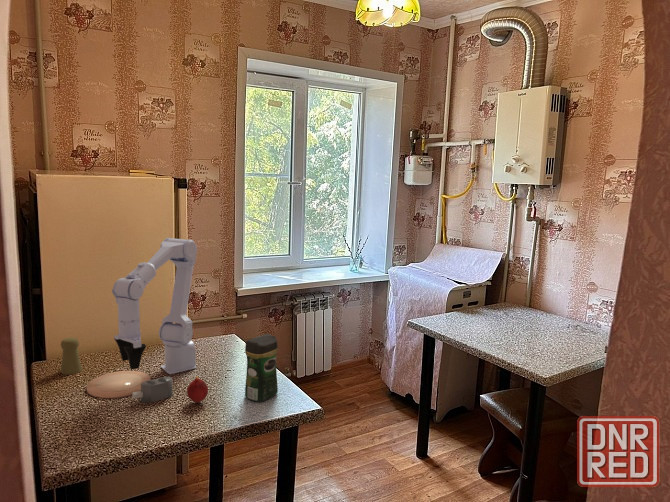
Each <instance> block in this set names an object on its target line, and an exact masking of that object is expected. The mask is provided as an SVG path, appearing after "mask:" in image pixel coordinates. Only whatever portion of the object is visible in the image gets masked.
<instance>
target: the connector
mask: <svg viewBox="0 0 670 502" xmlns="http://www.w3.org/2000/svg"><path fill="white" fill-rule="evenodd" d="M173 389H174V388H173V378H172V377H171V376H163V377H159V378H155V379H151V380H149V381H145V382H143V383H141V391H138V392H134V393H132V395H131V397H132V398H133V399H134V400H136V399H140V403H143V404H150V403H155V402H158V401H162V400H165V399H169V398H171V397H173V395H174V393H173Z"/></svg>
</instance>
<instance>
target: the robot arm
mask: <svg viewBox="0 0 670 502" xmlns="http://www.w3.org/2000/svg"><path fill="white" fill-rule="evenodd" d="M159 245H160V248H159V249H158V250H157V251H156V253H154V255H152V256H151V258H150V259H149V260H148V261H147V262H145V261H143V262H139V263H138V264H137V266H136V267H135V268H134V269H133V270H132V271H130V272H129V273H128V274H127V275H126V276H125V277H120V278H119V279H117V280H116V281H114V283H113V286H112V287H113V288H112V289H111V292H112V293H111V294H112V295H113V297H114V298H115V303H116V305H117V318H118V319H117V323H118V334H116V335H114V338H113V339H114V341H115V343H116V344H117V347H118V349H119V353H120V357H121V360H122V361H123V362H125V361H128V364H129V368H130V369H131V370H135V369H139V368H140V363H141V360H142V356H143V353H144V352H145V349H146V347H147V346H146V345H147V344H145V343H142V339H141V337H142V332H141V319H140V299H141V297H143V294H144V291H145V289H146V286H147V285H148V284H149V283H151V281H153V279H154V278H155V277H156V275H157V270H158V269H160V268H162V266H163V265H165V264H166V263H167V262H169V261H171V263H173V264H174V265H175V267H176V272H175V277H174V285H173V291H172V298H171V303H170V311H169V314H167V315H166V316H165V317H164V318H162V321H161V325H160V326H159V329H158V337H159V339H160V340H161V341H162V344H164V364H162V365H160V368H161V369H162V370H164V371H165V373H167V374H168V375H174V374H177V373H182V372H186V371H190V370H193V369H197V365H196V347H195V343H194V341H192V338H193V336H194V331H193V321H192V320H191V318H190V317H189V316H188V315H187V314H188V313H187V311H188V306H189V300H190V292H191V287H192V286H191V285H192V279H193V273H194V267H195V266H194V265H196V261H197V254H198V247H197V244H196V242H195V241H194V240H193V239H182V238H171V237H166V238H165V239H163V241H161V242H160V244H159Z"/></svg>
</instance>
